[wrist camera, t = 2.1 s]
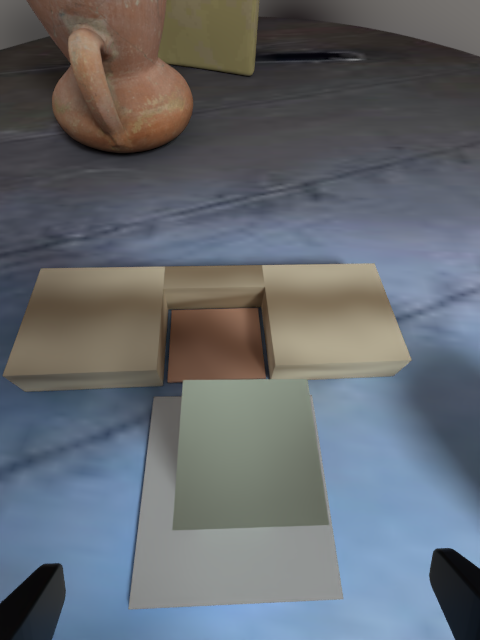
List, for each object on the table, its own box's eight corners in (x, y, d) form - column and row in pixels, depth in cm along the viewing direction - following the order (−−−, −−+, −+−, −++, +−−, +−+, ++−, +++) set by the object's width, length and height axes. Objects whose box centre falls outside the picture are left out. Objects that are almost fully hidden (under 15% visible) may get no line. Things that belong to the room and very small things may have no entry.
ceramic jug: (87, 94, 42) (30, -81, 29) (200, 98, 42) (189, -72, 30) (42, 181, 32) (-70, -23, 20) (187, 186, 32) (164, -11, 20)
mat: (341, 597, 15) (343, 599, 15) (129, 608, 15) (128, 609, 15) (310, 396, 21) (311, 394, 21) (154, 398, 20) (153, 396, 20)
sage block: (275, 526, 17) (329, 525, 8) (197, 528, 16) (172, 530, 8) (269, 444, 19) (307, 378, 10) (200, 446, 19) (182, 379, 10)
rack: (393, 376, 22) (411, 360, 20) (25, 391, 20) (2, 375, 18) (362, 284, 26) (374, 263, 24) (56, 290, 24) (40, 268, 22)
